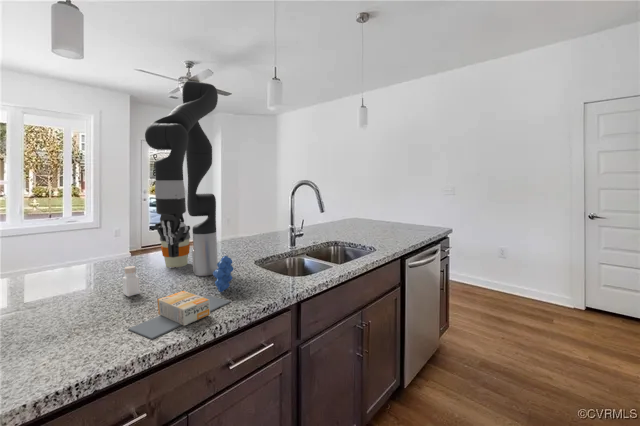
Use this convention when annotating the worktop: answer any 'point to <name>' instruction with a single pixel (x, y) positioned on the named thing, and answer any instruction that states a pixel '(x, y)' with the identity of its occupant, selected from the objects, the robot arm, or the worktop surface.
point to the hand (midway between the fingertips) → (173, 256)
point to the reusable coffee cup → (183, 253)
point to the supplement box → (184, 307)
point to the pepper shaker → (131, 281)
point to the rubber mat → (169, 321)
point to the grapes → (223, 273)
